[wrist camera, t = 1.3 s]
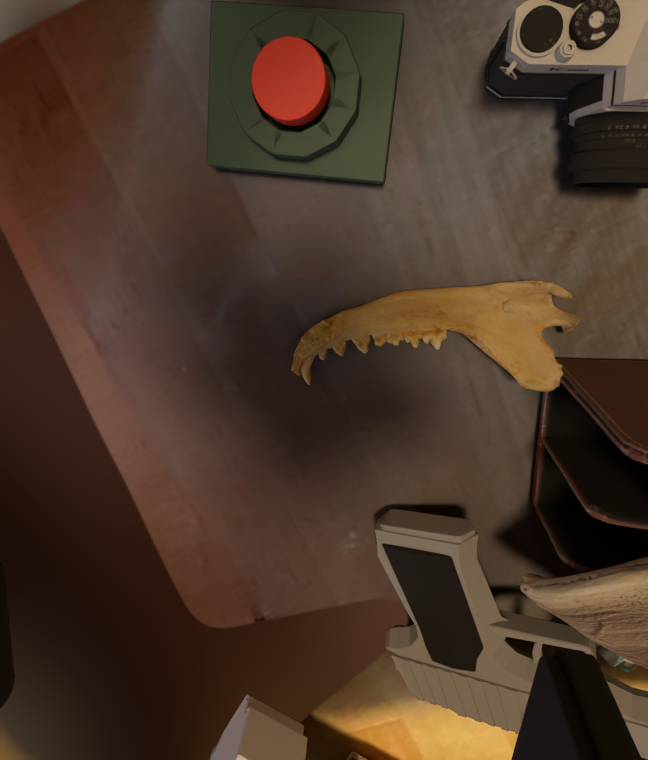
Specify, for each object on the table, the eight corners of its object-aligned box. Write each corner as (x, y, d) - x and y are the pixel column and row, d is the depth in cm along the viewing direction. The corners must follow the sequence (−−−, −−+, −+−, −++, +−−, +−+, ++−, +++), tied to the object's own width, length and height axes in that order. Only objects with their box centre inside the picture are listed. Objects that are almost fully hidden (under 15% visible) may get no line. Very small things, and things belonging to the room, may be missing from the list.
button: (257, 123, 28) (248, 117, 26) (261, 44, 27) (253, 32, 25) (326, 129, 27) (321, 123, 26) (333, 49, 26) (329, 38, 25)
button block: (218, 168, 32) (194, 162, 28) (223, 15, 30) (198, -15, 26) (384, 184, 31) (383, 180, 28) (403, 27, 29) (405, -2, 25)
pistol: (890, 610, 23) (842, 843, 27) (866, 569, 25) (826, 790, 30) (360, 525, 35) (387, 695, 40) (377, 502, 37) (400, 666, 42)
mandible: (575, 397, 30) (584, 372, 27) (295, 385, 35) (278, 363, 32) (572, 308, 32) (581, 277, 29) (309, 309, 37) (295, 282, 34)
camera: (467, 190, 31) (511, 184, 22) (479, 34, 28) (533, -39, 20) (701, 188, 30) (839, 182, 22) (733, 29, 28) (902, -50, 19)
